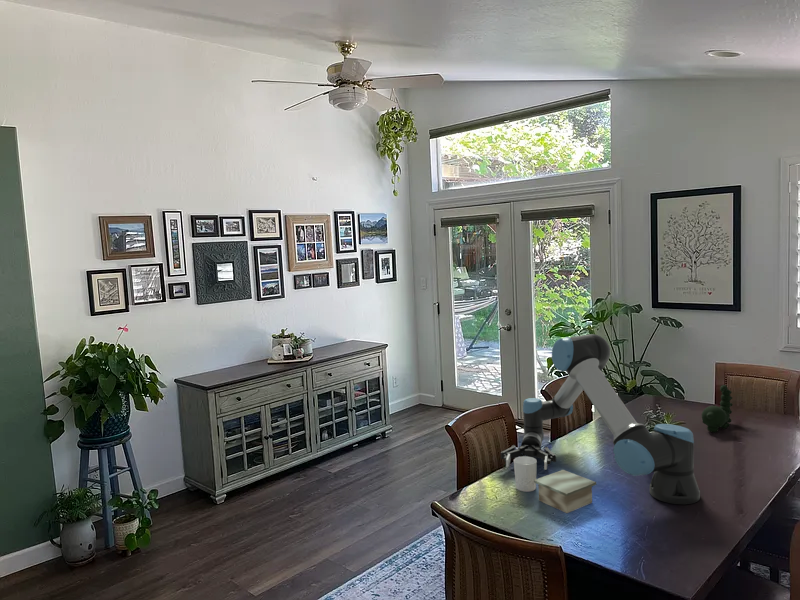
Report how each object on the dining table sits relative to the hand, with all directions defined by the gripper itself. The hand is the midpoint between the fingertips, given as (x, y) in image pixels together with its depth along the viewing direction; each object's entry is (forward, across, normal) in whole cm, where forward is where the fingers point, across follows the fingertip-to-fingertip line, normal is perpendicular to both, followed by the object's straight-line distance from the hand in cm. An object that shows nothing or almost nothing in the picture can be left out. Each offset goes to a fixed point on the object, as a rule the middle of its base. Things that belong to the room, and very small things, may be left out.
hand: (526, 464), depth 212 cm
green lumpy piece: (-72, -76, -6) cm, 104 cm away
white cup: (+7, 0, -6) cm, 9 cm away
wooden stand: (+15, -14, -6) cm, 21 cm away
